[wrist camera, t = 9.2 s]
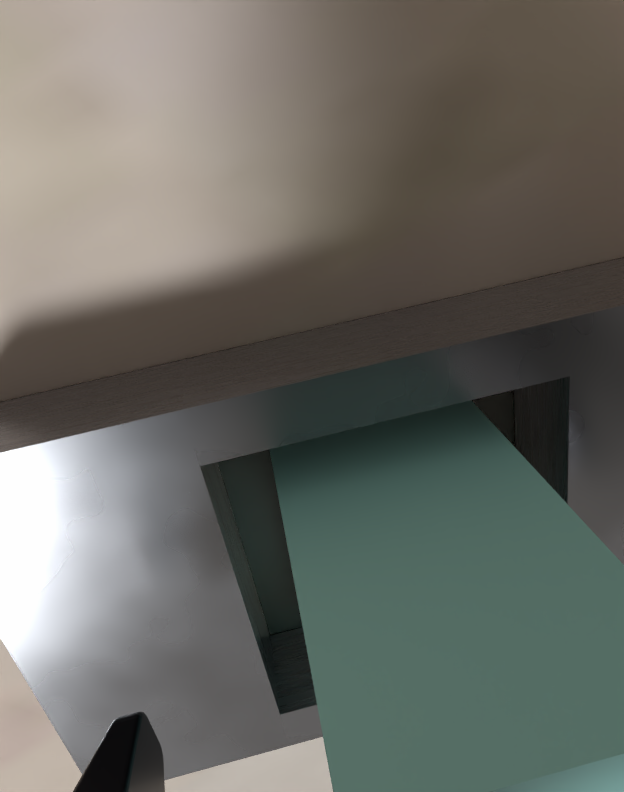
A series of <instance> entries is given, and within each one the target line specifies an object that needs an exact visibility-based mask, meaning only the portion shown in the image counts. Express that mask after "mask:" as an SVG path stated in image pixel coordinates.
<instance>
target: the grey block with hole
mask: <svg viewBox="0 0 624 792" xmlns="http://www.w3.org/2000/svg"><path fill="white" fill-rule="evenodd" d="M511 390H514V413H515V446H516V449H517V450H518V451H519V452H520V453H521V454H522V456H523V457H524V458H525V459H526V460H527V461H528V462H529V463H530V464H531V465H532V466H533V467H534V469H535V470H536V471H537V472H538V473H539V474H540V475H541V476H542V477H543V478H544V479H545V480H546V482H547V483H548V484H549V485H550V486H551V487H552V488H553V489H554V490H555V491H556V492H557V493H558V494H559V496H560V497H561V498H562V499H563V500H564V501H565V502H566V503H567V504H568V505H569V506H570V507H571V509H572V510H573V511H574V512H575V513H576V514H577V515H578V516H579V517H580V518H581V519H582V520H583V521H584V523H585V524H586V525H587V526H588V527H589V528H590V529H591V530H592V531H593V532H594V533H595V534H596V536H597V537H598V538H599V539H600V540H601V541H602V542H603V543H604V544H605V545H606V546H607V547H608V549H609V550H610V551H611V552H612V553H613V554H614V555H615V556H616V557H617V558H618V559H619V560H620V561H621V563H622V564H623V565H624V258H620V259H616V260H611V261H607V262H603V263H598V264H594V265H590V266H586V267H581V268H577V269H573V270H568V271H564V272H560V273H555V274H551V275H547V276H542V277H538V278H534V279H529V280H525V281H521V282H517V283H512V284H508V285H504V286H499V287H495V288H491V289H486V290H482V291H478V292H473V293H469V294H465V295H460V296H456V297H452V298H447V299H443V300H439V301H435V302H430V303H426V304H422V305H417V306H413V307H409V308H404V309H400V310H396V311H391V312H387V313H383V314H378V315H374V316H370V317H365V318H361V319H357V320H353V321H348V322H344V323H340V324H335V325H331V326H327V327H322V328H318V329H314V330H309V331H305V332H301V333H296V334H292V335H288V336H283V337H279V338H275V339H271V340H266V341H262V342H258V343H253V344H249V345H245V346H240V347H236V348H232V349H227V350H223V351H219V352H214V353H210V354H206V355H201V356H197V357H193V358H189V359H184V360H180V361H176V362H171V363H167V364H163V365H158V366H154V367H150V368H145V369H141V370H137V371H132V372H128V373H124V374H119V375H115V376H111V377H107V378H102V379H98V380H94V381H89V382H85V383H81V384H76V385H72V386H68V387H63V388H59V389H55V390H50V391H46V392H42V393H38V394H33V395H29V396H25V397H20V398H16V399H12V400H7V401H3V402H0V638H1V640H2V641H3V643H4V645H5V646H6V648H7V650H8V651H9V653H10V655H11V656H12V658H13V660H14V661H15V663H16V665H17V666H18V668H19V670H20V671H21V673H22V675H23V676H24V678H25V680H26V681H27V683H28V685H29V686H30V688H31V690H32V691H33V693H34V695H35V696H36V698H37V700H38V701H39V703H40V705H41V706H42V708H43V710H44V711H45V713H46V715H47V716H48V718H49V720H50V721H51V723H52V725H53V726H54V728H55V730H56V731H57V733H58V735H59V736H60V738H61V740H62V741H63V743H64V745H65V746H66V748H67V750H68V751H69V753H70V755H71V756H72V758H73V760H74V761H75V763H76V765H77V766H78V768H79V770H80V771H81V773H82V775H83V773H84V771H85V769H86V768H87V766H88V764H89V762H90V761H91V759H92V757H93V755H94V754H95V752H96V750H97V748H98V746H99V745H100V743H101V741H102V739H103V738H104V736H105V734H106V732H107V731H108V729H109V727H110V725H111V724H112V722H113V721H114V720H115V719H116V718H118V717H120V716H124V715H128V714H131V713H135V712H144V713H145V714H146V716H147V717H148V719H149V721H150V724H151V726H152V728H153V730H154V732H155V734H156V736H157V738H158V740H159V742H160V745H161V748H162V752H163V759H164V780H167V779H171V778H174V777H178V776H182V775H185V774H189V773H192V772H196V771H200V770H203V769H207V768H210V767H214V766H218V765H221V764H225V763H229V762H232V761H236V760H239V759H243V758H247V757H250V756H254V755H258V754H261V753H265V752H268V751H272V750H276V749H279V748H283V747H286V746H290V745H294V744H297V743H301V742H305V741H308V740H312V739H315V738H319V737H323V734H322V728H321V723H320V718H319V712H318V707H317V702H316V696H315V691H314V685H313V680H312V675H311V669H310V664H309V659H308V653H307V648H306V643H305V637H304V632H303V627H301V628H298V629H294V630H290V631H286V632H282V633H279V634H275V635H271V636H270V633H269V630H268V626H267V623H266V620H265V617H264V613H263V610H262V607H261V604H260V600H259V597H258V594H257V590H256V587H255V584H254V581H253V577H252V574H251V571H250V567H249V564H248V561H247V558H246V554H245V551H244V548H243V545H242V541H241V538H240V535H239V531H238V528H237V525H236V522H235V518H234V515H233V512H232V508H231V505H230V502H229V499H228V495H227V492H226V489H225V486H224V482H223V479H222V476H221V472H220V469H219V466H218V463H217V462H220V461H224V460H228V459H232V458H236V457H240V456H244V455H248V454H253V453H257V452H261V451H265V450H269V449H273V448H277V447H281V446H285V445H289V444H294V443H298V442H302V441H306V440H310V439H314V438H318V437H322V436H326V435H331V434H335V433H339V432H343V431H347V430H351V429H355V428H359V427H363V426H367V425H372V424H376V423H380V422H384V421H388V420H392V419H396V418H400V417H404V416H409V415H413V414H417V413H421V412H425V411H429V410H433V409H437V408H441V407H445V406H450V405H454V404H458V403H462V402H466V401H470V400H474V399H478V398H482V397H486V396H491V395H495V394H499V393H503V392H507V391H511Z"/></svg>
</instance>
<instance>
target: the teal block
mask: <svg viewBox="0 0 624 792" xmlns="http://www.w3.org/2000/svg"><path fill="white" fill-rule="evenodd" d="M269 450H270V456H271V461H272V466H273V472H274V477H275V482H276V488H277V493H278V498H279V504H280V509H281V514H282V520H283V525H284V531H285V536H286V541H287V547H288V552H289V557H290V563H291V568H292V573H293V579H294V584H295V589H296V595H297V600H298V605H299V611H300V616H301V621H302V627H303V632H304V637H305V643H306V648H307V653H308V659H309V664H310V669H311V675H312V680H313V685H314V691H315V696H316V702H317V707H318V712H319V718H320V723H321V728H322V734H323V739H324V744H325V750H326V755H327V760H328V766H329V771H330V776H331V782H332V787H333V792H624V565H623V564H622V563H621V561H620V560H619V559H618V558H617V557H616V556H615V555H614V554H613V553H612V552H611V551H610V550H609V549H608V547H607V546H606V545H605V544H604V543H603V542H602V541H601V540H600V539H599V538H598V537H597V536H596V534H595V533H594V532H593V531H592V530H591V529H590V528H589V527H588V526H587V525H586V524H585V523H584V521H583V520H582V519H581V518H580V517H579V516H578V515H577V514H576V513H575V512H574V511H573V510H572V509H571V507H570V506H569V505H568V504H567V503H566V502H565V501H564V500H563V499H562V498H561V497H560V496H559V494H558V493H557V492H556V491H555V490H554V489H553V488H552V487H551V486H550V485H549V484H548V483H547V482H546V480H545V479H544V478H543V477H542V476H541V475H540V474H539V473H538V472H537V471H536V470H535V469H534V467H533V466H532V465H531V464H530V463H529V462H528V461H527V460H526V459H525V458H524V457H523V456H522V454H521V453H520V452H519V451H518V450H517V449H516V448H515V447H514V446H513V445H512V444H511V443H510V442H509V440H508V439H507V438H506V437H505V436H504V435H503V434H502V433H501V432H500V431H499V430H498V429H497V427H496V426H495V425H494V424H493V423H492V422H491V421H490V420H489V419H488V418H487V417H486V416H485V415H484V413H483V412H482V411H481V410H480V409H479V408H478V407H477V406H476V405H475V404H474V403H473V402H472V400H470V401H466V402H462V403H458V404H454V405H450V406H445V407H441V408H437V409H433V410H429V411H425V412H421V413H417V414H413V415H409V416H404V417H400V418H396V419H392V420H388V421H384V422H380V423H376V424H372V425H367V426H363V427H359V428H355V429H351V430H347V431H343V432H339V433H335V434H331V435H326V436H322V437H318V438H314V439H310V440H306V441H302V442H298V443H294V444H289V445H285V446H281V447H277V448H273V449H269Z"/></svg>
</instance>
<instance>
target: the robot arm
mask: <svg viewBox="0 0 624 792" xmlns="http://www.w3.org/2000/svg"><path fill="white" fill-rule="evenodd" d="M73 792H165V785H164V759H163V752H162V748H161V745H160V742H159V740H158V738H157V736H156V734H155V732H154V730H153V728H152V726H151V724H150V721H149V719H148V717H147V716H146V714H145V713H144V712H135V713H131V714H128V715H124V716H120V717H118V718H116V719H115V720H114V721H113V722H112V724H111V725H110V727H109V729H108V731H107V732H106V734H105V736H104V738H103V739H102V741H101V743H100V745H99V746H98V748H97V750H96V752H95V754H94V755H93V757H92V759H91V761H90V762H89V764H88V766H87V768H86V769H85V771H84V773H83V775H82V777H81V778H80V780H79V782H78V784H77V785H76V787H75V789H74V791H73Z"/></svg>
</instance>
